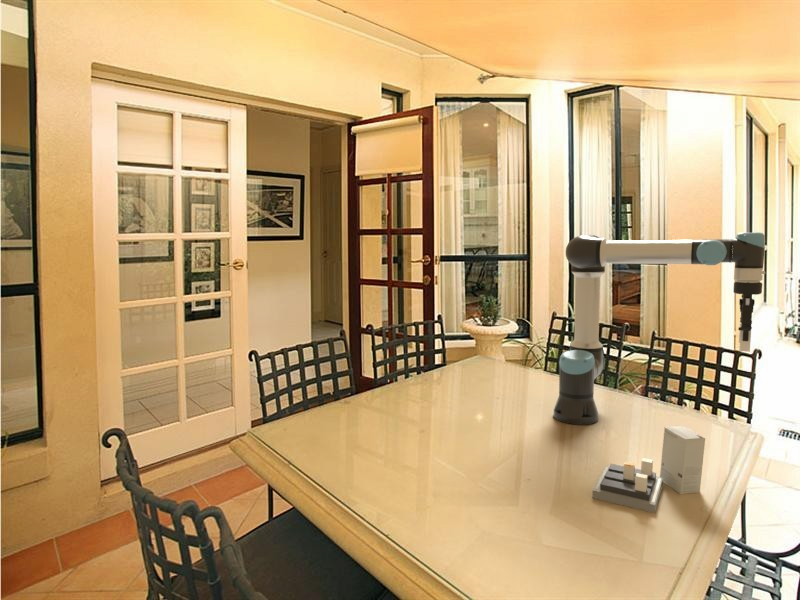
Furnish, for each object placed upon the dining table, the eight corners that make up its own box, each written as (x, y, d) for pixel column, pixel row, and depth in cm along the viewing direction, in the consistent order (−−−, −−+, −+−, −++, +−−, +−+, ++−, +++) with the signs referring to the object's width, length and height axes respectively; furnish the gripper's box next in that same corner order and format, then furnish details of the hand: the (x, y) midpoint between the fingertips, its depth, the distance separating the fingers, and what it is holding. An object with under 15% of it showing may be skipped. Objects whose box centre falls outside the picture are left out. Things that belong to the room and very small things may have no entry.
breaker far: (641, 473, 133) (641, 460, 133) (642, 470, 135) (642, 457, 135) (651, 475, 132) (651, 462, 132) (652, 472, 134) (652, 459, 133)
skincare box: (659, 480, 137) (661, 426, 136) (679, 478, 138) (681, 424, 137) (681, 495, 129) (684, 438, 127) (703, 493, 130) (706, 436, 128)
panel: (592, 498, 129) (592, 484, 128) (605, 472, 142) (606, 460, 142) (654, 513, 121) (655, 498, 121) (662, 485, 135) (663, 472, 134)
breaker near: (634, 490, 125) (635, 476, 125) (636, 486, 127) (636, 472, 126) (645, 492, 124) (646, 478, 123) (647, 488, 125) (647, 475, 125)
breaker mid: (623, 478, 131) (623, 464, 131) (624, 475, 133) (624, 461, 132) (633, 480, 130) (633, 466, 129) (634, 477, 131) (635, 463, 131)
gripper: (764, 285, 152) (760, 355, 155) (760, 278, 173) (756, 341, 176) (734, 284, 156) (730, 353, 159) (733, 278, 177) (730, 339, 180)
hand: (744, 347), depth 167 cm, fingers open, 13 cm apart
